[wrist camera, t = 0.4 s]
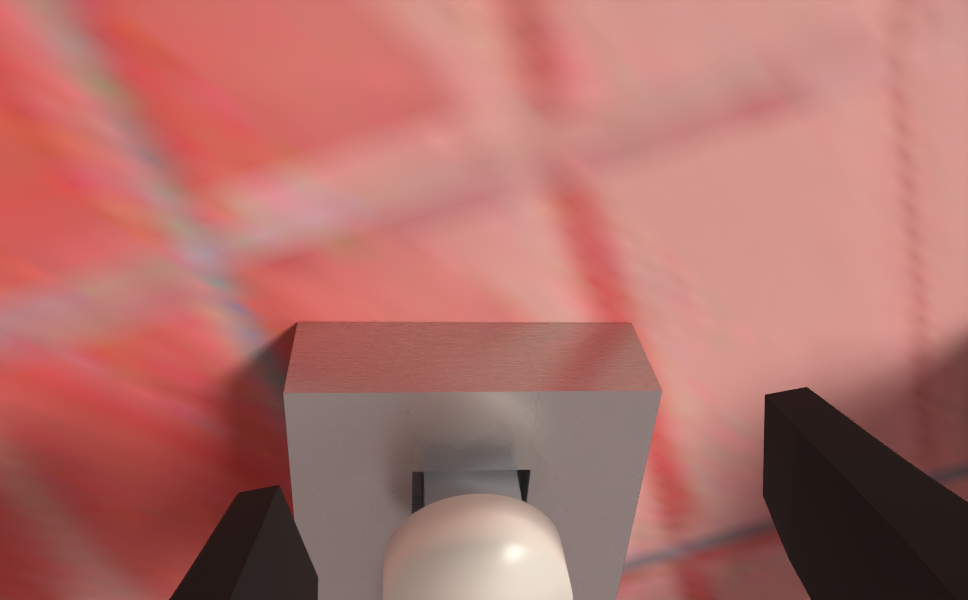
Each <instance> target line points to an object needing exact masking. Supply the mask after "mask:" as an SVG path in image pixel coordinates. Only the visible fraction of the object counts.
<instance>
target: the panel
mask: <svg viewBox="0 0 968 600" xmlns="http://www.w3.org/2000/svg"><path fill="white" fill-rule="evenodd" d="M661 394H662V389H661V387H660V385H659V382H658V380H657V378H656V376H655V374H654V371H653V369H652V367H651V365H650V363H649V360H648V358H647V356H646V354H645V352H644V349H643V347H642V345H641V343H640V341H639V338H638V336H637V334H636V332H635V330H634V327H633V325H632V323H297V328H296V333H295V338H294V342H293V347H292V352H291V357H290V362H289V367H288V372H287V377H286V382H285V387H284V392H283V396H284V408H285V419H286V431H287V442H288V453H289V465H290V476H291V488H292V499H293V511H294V521H295V524H296V526H297V528H298V531H299V533H300V535H301V538H302V540H303V542H304V545H305V547H306V549H307V552H308V554H309V557H310V559H311V561H312V564H313V566H314V568H315V571H316V573H317V575H318V600H383V561H384V552H385V549H386V545H387V543H388V541H389V539H390V537H391V535H392V534H393V532H394V531H395V530H396V528H397V527H398V526H399V525H400V524H401V523H402V522H403V521H404V520H405V519H407V518H408V517H409V516H410V515H412V514H413V513H415V512H416V511H418V510H419V509H421V508H422V496H423V472H426V471H482V470H517V475H518V481H519V487H520V492H521V498H522V501H524V502H526V503H528V504H530V505H532V506H534V507H535V508H537V509H538V510H540V511H541V512H543V513H544V514H545V515H546V516H547V517H548V518H549V519H550V520H551V521H552V523H553V524H554V525H555V527H556V529H557V531H558V533H559V536H560V539H561V543H562V547H563V552H564V556H565V561H566V565H567V570H568V575H569V579H570V584H571V588H572V594H573V600H616V598H617V594H618V589H619V584H620V580H621V575H622V571H623V566H624V562H625V557H626V553H627V548H628V544H629V539H630V535H631V530H632V525H633V521H634V516H635V512H636V507H637V503H638V498H639V494H640V489H641V485H642V480H643V475H644V471H645V466H646V462H647V457H648V453H649V448H650V444H651V439H652V435H653V430H654V426H655V421H656V416H657V412H658V407H659V403H660V398H661Z"/></svg>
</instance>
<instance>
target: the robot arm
mask: <svg viewBox="0 0 968 600" xmlns="http://www.w3.org/2000/svg"><path fill="white" fill-rule="evenodd" d="M763 497H764V499H765V502H766V504H767V507H768V509H769V512H770V514H771V517H772V519H773V522H774V524H775V527H776V529H777V532H778V534H779V536H780V539H781V541H782V544H783V546H784V548H785V551H786V553H787V555H788V558H789V560H790V562H791V563H792V565H793V567H794V569H795V571H796V573H797V575H798V576H799V578H800V580H801V582H802V584H803V585H804V587H805V589H806V591H807V593H808V594H809V596H810V598H811V600H968V502H967V501H965V500H964V499H962V498H961V497H959V496H958V495H956V494H955V493H953V492H951V491H950V490H948V489H947V488H945V487H944V486H943V485H941V484H940V483H938V482H937V481H935V480H934V479H932V478H931V477H930V476H928V475H927V474H925V473H924V472H922V471H921V470H919V469H918V468H917V467H915V466H914V465H912V464H911V463H909V462H908V461H906V460H905V459H904V458H902V457H901V456H899V455H898V454H897V453H895V452H894V451H892V450H891V449H890V448H888V447H887V446H886V445H884V444H883V443H881V442H880V441H879V440H877V439H876V438H875V437H873V436H872V435H871V434H869V433H868V432H867V431H865V430H864V429H862V428H861V427H860V426H858V425H857V424H856V423H854V422H853V421H852V420H850V419H849V418H848V417H846V416H845V415H844V414H842V413H841V412H840V411H838V410H837V409H836V408H834V407H833V406H832V405H830V404H829V403H828V402H826V401H825V400H824V399H822V398H821V397H820V396H818V395H817V394H816V393H814V392H813V391H811V390H810V389H809V388H807V387H804V388H799V389H794V390H788V391H783V392H778V393H772V394H767V395H765V418H764V468H763ZM169 600H318V575H317V573H316V571H315V568H314V566H313V564H312V561H311V559H310V557H309V554H308V552H307V549H306V547H305V545H304V542H303V540H302V538H301V535H300V533H299V531H298V528H297V526H296V524H295V521H294V519H293V517H292V514H291V512H290V509H289V507H288V505H287V502H286V500H285V498H284V495H283V493H282V491H281V488H280V486H279V485H278V486H272V487H267V488H262V489H256V490H251V491H245V492H240V493H238V495H237V496H236V497H235V499H234V500H233V502H232V503H231V505H230V506H229V508H228V509H227V511H226V513H225V514H224V516H223V517H222V519H221V520H220V522H219V524H218V525H217V527H216V528H215V530H214V532H213V533H212V535H211V536H210V538H209V539H208V541H207V543H206V544H205V546H204V547H203V549H202V551H201V552H200V554H199V555H198V557H197V558H196V560H195V561H194V563H193V565H192V566H191V568H190V569H189V571H188V572H187V574H186V575H185V577H184V578H183V580H182V581H181V583H180V584H179V586H178V587H177V589H176V590H175V592H174V593H173V595H172V596H171V598H170V599H169Z"/></svg>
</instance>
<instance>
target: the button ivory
mask: <svg viewBox="0 0 968 600" xmlns="http://www.w3.org/2000/svg"><path fill="white" fill-rule="evenodd" d="M383 600H573V594H572V588H571V584H570V579H569V575H568V570H567V565H566V561H565V556H564V552H563V547H562V543H561V539H560V536H559V533H558V531H557V529H556V527H555V525H554V524H553V523H552V521H551V520H550V519H549V518H548V517H547V516H546V515H545V514H544V513H543V512H541V511H540V510H538V509H537V508H535V507H534V506H532V505H530V504H528V503H526V502H524V501H522V498H521V492H520V487H519V481H518V475H517V470H482V471H426V472H423V496H422V508H421V509H419V510H418V511H416V512H415V513H413V514H412V515H410V516H409V517H408V518H407V519H405V520H404V521H403V522H402V523H401V524H400V525H399V526H398V527H397V528H396V530H395V531H394V532H393V534H392V535H391V537H390V539H389V541H388V543H387V545H386V549H385V552H384V561H383Z"/></svg>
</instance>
